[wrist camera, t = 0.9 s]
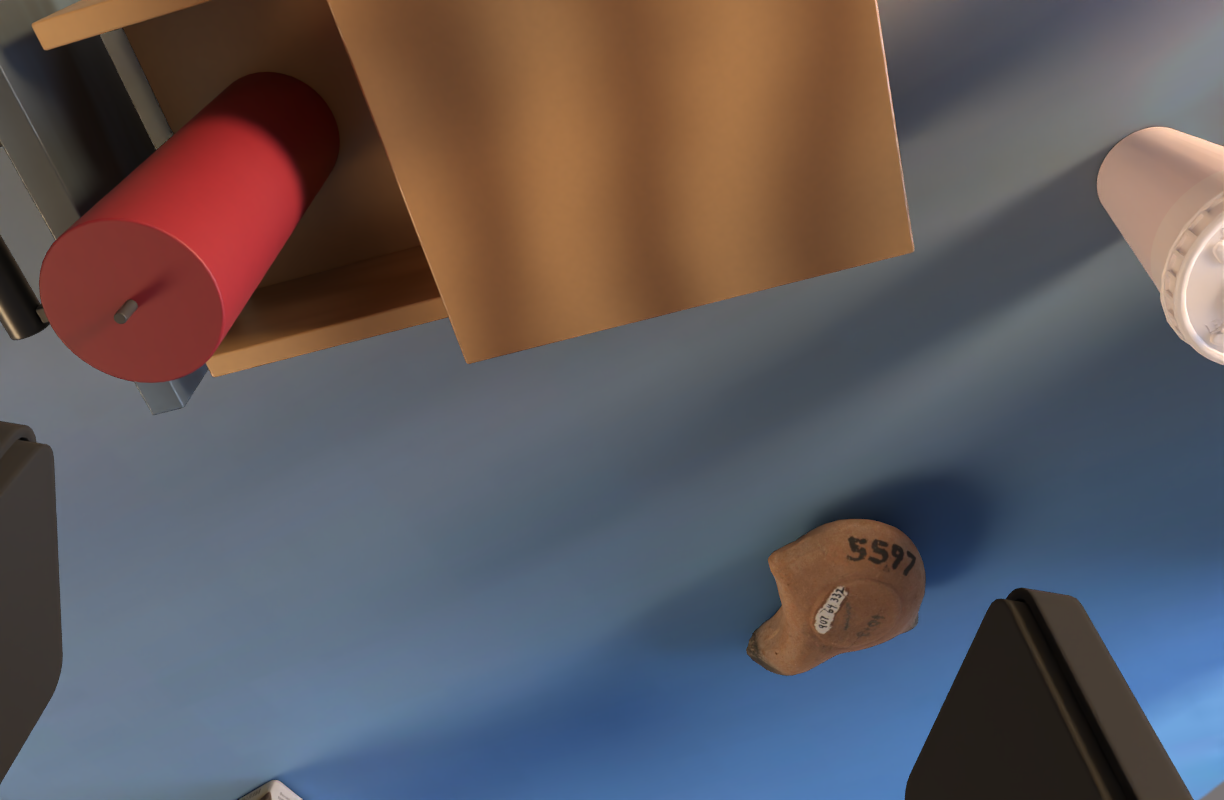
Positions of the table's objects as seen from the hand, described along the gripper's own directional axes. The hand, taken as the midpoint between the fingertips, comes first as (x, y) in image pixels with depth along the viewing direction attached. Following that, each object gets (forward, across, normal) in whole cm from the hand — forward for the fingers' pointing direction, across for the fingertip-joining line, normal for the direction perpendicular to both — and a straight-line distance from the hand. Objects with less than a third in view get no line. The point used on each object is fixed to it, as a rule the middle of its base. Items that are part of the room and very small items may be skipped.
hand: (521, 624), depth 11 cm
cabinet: (+32, -2, 0) cm, 32 cm away
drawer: (+31, +11, +6) cm, 34 cm away
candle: (+30, +10, +6) cm, 32 cm away
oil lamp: (+33, -16, +22) cm, 43 cm away
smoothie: (+32, -22, +2) cm, 39 cm away
